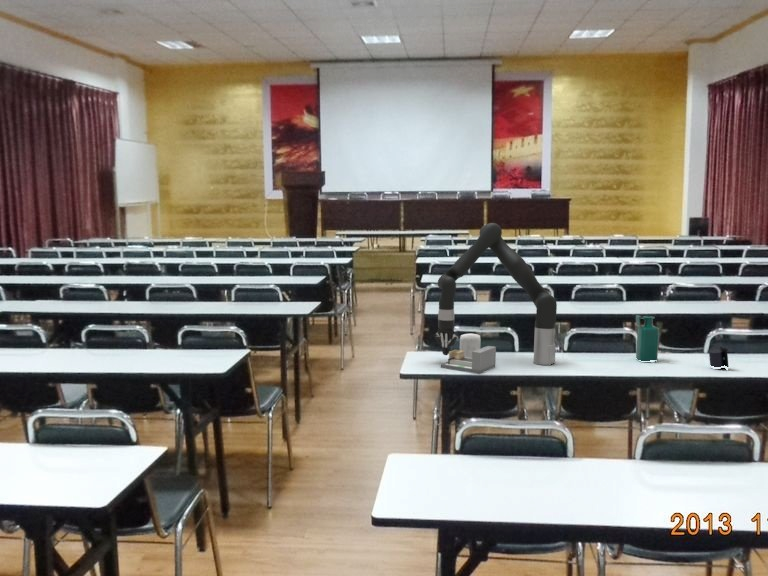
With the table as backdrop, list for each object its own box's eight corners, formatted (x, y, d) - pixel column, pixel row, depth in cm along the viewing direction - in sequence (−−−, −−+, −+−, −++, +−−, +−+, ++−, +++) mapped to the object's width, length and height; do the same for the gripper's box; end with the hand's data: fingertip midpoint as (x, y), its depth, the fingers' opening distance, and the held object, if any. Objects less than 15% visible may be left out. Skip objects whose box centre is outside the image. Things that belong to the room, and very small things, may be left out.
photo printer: (478, 357, 348) (479, 332, 346) (481, 359, 344) (481, 334, 342) (458, 357, 346) (458, 333, 345) (460, 359, 342) (461, 334, 341)
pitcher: (652, 358, 348) (654, 314, 346) (658, 362, 340) (661, 317, 337) (632, 358, 348) (634, 314, 346) (638, 362, 340) (640, 317, 337)
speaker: (726, 367, 330) (725, 345, 329) (728, 370, 325) (728, 348, 323) (708, 367, 332) (708, 346, 331) (710, 371, 327) (710, 349, 325)
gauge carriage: (464, 361, 331) (464, 350, 330) (453, 365, 322) (453, 354, 321) (454, 359, 333) (455, 349, 333) (443, 364, 325) (443, 353, 324)
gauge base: (495, 367, 328) (496, 346, 326) (479, 373, 314) (480, 352, 313) (457, 361, 339) (457, 341, 338) (440, 367, 326) (441, 347, 324)
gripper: (462, 318, 330) (461, 355, 332) (438, 316, 338) (437, 351, 340) (454, 320, 324) (454, 358, 326) (429, 318, 332) (429, 354, 334)
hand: (445, 354), depth 333 cm, fingers closed
